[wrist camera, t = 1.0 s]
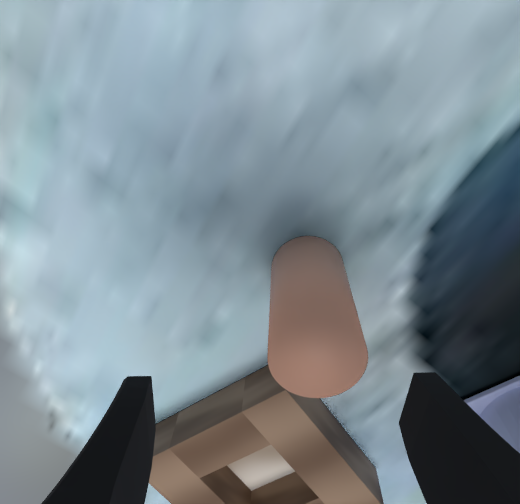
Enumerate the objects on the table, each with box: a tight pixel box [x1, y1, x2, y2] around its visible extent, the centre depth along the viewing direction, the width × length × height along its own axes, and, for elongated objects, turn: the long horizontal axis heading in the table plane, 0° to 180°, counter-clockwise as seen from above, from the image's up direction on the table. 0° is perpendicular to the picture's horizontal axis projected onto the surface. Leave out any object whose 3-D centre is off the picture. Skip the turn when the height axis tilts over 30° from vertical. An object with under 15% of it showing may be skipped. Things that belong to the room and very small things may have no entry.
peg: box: [268, 236, 368, 398], centre depth 22 cm, size 4×4×8 cm
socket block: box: [149, 365, 384, 504], centre depth 30 cm, size 11×11×3 cm
